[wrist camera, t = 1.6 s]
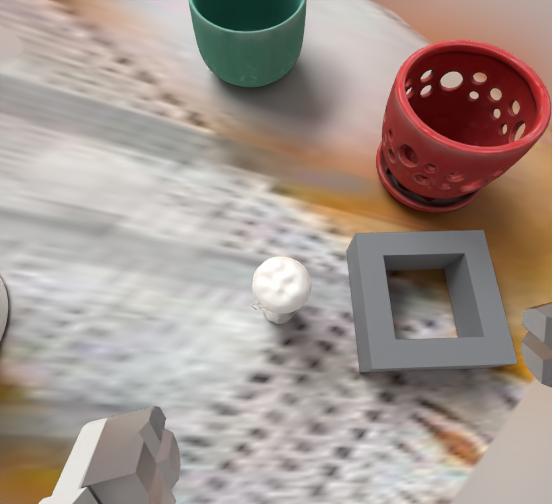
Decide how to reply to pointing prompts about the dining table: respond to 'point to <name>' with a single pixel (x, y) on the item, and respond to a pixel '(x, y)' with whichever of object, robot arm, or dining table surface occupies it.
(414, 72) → the plant pot
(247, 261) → the dining table surface
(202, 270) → the dining table surface
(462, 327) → the socket collar
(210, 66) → the mug
